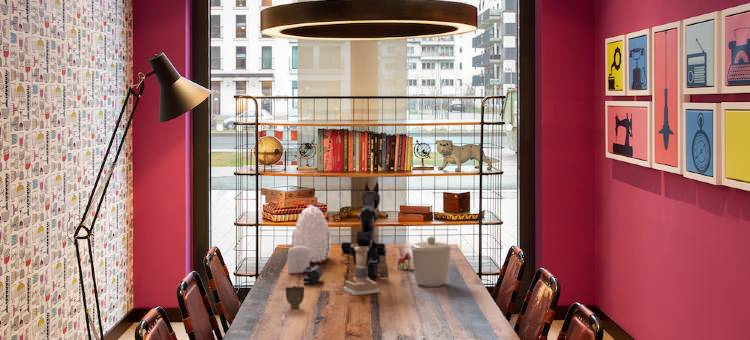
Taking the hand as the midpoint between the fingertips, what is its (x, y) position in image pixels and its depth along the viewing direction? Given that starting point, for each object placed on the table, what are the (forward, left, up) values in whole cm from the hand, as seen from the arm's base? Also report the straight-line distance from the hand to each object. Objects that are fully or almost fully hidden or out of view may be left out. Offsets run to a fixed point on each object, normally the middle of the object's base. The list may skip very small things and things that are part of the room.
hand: (360, 265), depth 363 cm
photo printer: (+7, -49, -12) cm, 51 cm away
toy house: (-39, -34, -12) cm, 53 cm away
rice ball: (-10, -73, -12) cm, 75 cm away
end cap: (+10, -26, -12) cm, 30 cm away
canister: (-34, +1, -11) cm, 36 cm away
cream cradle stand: (-1, -1, -11) cm, 11 cm away
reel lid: (-9, -14, -11) cm, 20 cm away
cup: (+35, +13, -11) cm, 39 cm away
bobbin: (-1, -1, -7) cm, 7 cm away
